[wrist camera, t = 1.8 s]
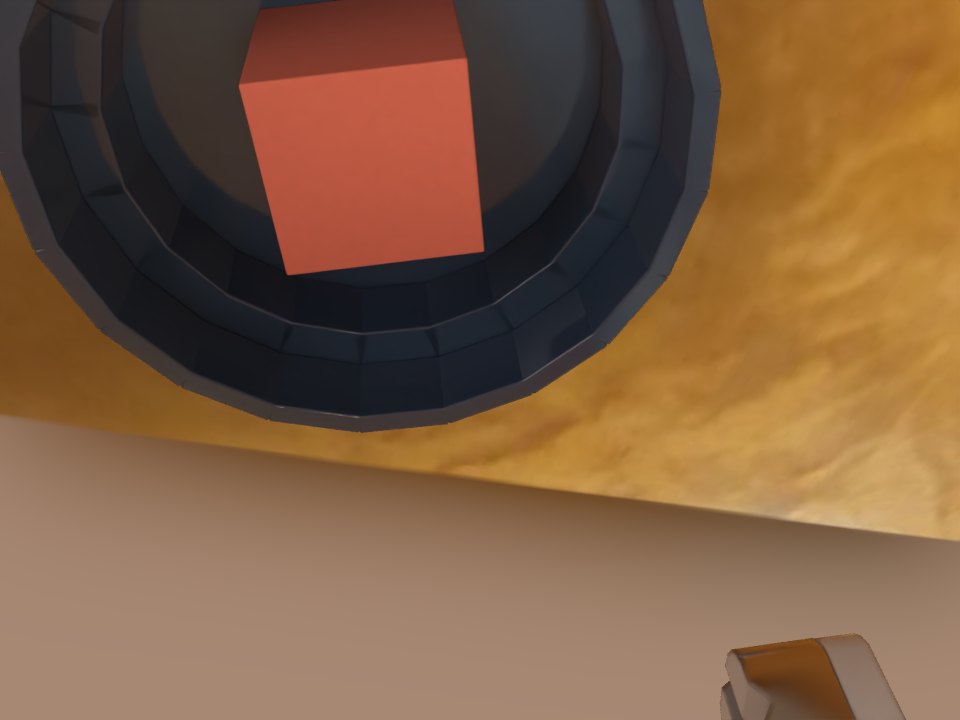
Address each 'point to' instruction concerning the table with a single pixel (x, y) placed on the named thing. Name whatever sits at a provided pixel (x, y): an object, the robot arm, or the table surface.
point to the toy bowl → (368, 289)
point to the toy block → (364, 132)
